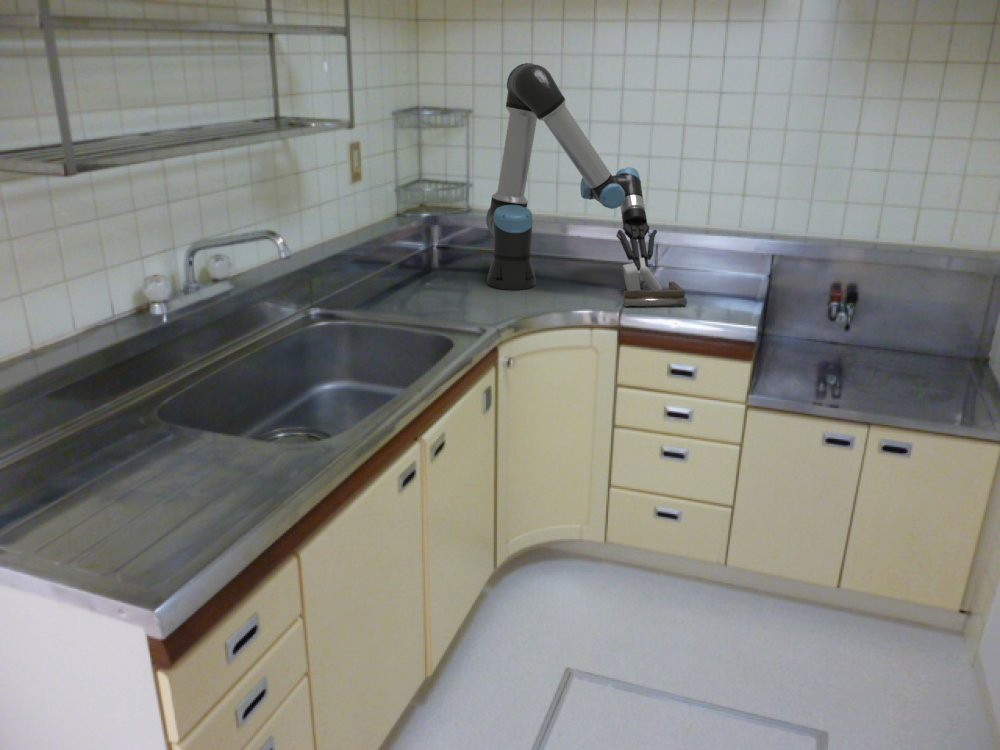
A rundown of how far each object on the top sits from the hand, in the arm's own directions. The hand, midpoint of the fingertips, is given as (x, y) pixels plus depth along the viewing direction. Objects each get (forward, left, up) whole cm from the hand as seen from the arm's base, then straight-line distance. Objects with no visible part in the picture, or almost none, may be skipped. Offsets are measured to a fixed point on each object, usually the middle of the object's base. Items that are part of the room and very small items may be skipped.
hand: (643, 278), depth 256 cm
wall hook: (-1, -3, -4) cm, 5 cm away
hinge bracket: (-1, -11, -4) cm, 12 cm away
